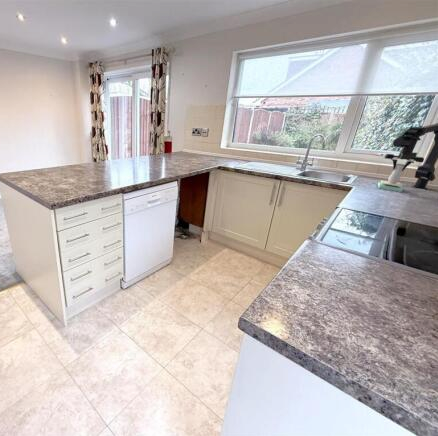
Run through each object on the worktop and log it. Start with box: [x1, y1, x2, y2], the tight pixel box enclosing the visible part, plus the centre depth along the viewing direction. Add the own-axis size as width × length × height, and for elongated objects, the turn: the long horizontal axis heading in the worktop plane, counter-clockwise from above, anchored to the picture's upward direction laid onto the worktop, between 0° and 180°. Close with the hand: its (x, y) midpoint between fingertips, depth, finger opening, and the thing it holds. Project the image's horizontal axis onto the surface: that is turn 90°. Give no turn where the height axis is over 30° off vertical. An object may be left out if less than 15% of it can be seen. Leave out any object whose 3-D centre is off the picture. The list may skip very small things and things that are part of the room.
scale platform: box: [380, 179, 403, 187], centre depth 173 cm, size 11×10×1 cm
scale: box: [377, 180, 404, 193], centre depth 172 cm, size 14×12×3 cm
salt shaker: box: [387, 163, 405, 183], centre depth 170 cm, size 6×6×13 cm
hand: (397, 170), depth 169 cm, fingers closed on salt shaker, 4 cm apart
